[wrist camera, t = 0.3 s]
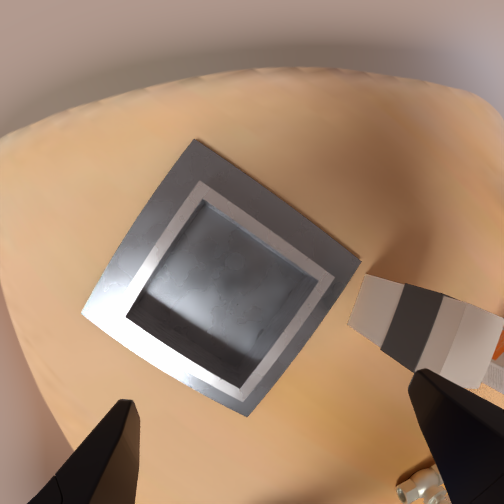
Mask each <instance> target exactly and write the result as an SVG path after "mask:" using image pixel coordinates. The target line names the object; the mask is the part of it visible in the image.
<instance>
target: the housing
mask: <svg viewBox="0 0 504 504" xmlns="http://www.w3.org/2000/svg"><path fill="white" fill-rule="evenodd" d="M361 262H362V261H360V260H359V259H358V258H357V257H355V256H354V255H353V254H352V253H350V252H349V251H348V250H347V249H345V248H344V247H343V246H342V245H340V244H339V243H338V242H337V241H335V240H334V239H333V238H331V237H330V236H329V235H328V234H326V233H325V232H324V231H322V230H321V229H320V228H318V227H317V226H316V225H315V224H313V223H312V222H311V221H309V220H308V219H307V218H305V217H304V216H303V215H301V214H300V213H299V212H297V211H296V210H295V209H293V208H292V207H291V206H289V205H288V204H287V203H285V202H284V201H283V200H281V199H280V198H278V197H277V196H276V195H274V194H273V193H272V192H270V191H269V190H267V189H266V188H265V187H263V186H262V185H260V184H259V183H258V182H256V181H255V180H253V179H252V178H251V177H249V176H248V175H246V174H245V173H244V172H242V171H241V170H239V169H238V168H236V167H235V166H234V165H232V164H231V163H229V162H228V161H226V160H225V159H223V158H222V157H220V156H219V155H217V154H216V153H215V152H213V151H212V150H210V149H209V148H207V147H206V146H204V145H203V144H201V143H200V142H198V141H197V140H195V139H194V140H193V141H192V142H191V143H190V145H189V146H188V147H187V149H186V150H185V151H184V152H183V154H182V155H181V156H180V158H179V159H178V160H177V162H176V163H175V164H174V166H173V167H172V169H171V170H170V171H169V173H168V174H167V175H166V177H165V178H164V180H163V181H162V182H161V184H160V185H159V187H158V188H157V189H156V191H155V192H154V194H153V195H152V197H151V198H150V200H149V201H148V203H147V204H146V205H145V207H144V208H143V210H142V211H141V213H140V214H139V216H138V217H137V219H136V221H135V222H134V224H133V225H132V227H131V228H130V230H129V231H128V233H127V235H126V236H125V238H124V239H123V241H122V242H121V244H120V246H119V247H118V249H117V251H116V252H115V254H114V256H113V257H112V259H111V261H110V262H109V264H108V266H107V267H106V269H105V271H104V272H103V274H102V276H101V278H100V279H99V281H98V283H97V285H96V286H95V288H94V290H93V292H92V294H91V296H90V297H89V299H88V301H87V303H86V305H85V307H84V309H83V310H82V312H81V314H82V315H83V316H85V317H86V318H87V319H89V320H90V321H91V322H93V323H94V324H95V325H97V326H98V327H99V328H101V329H102V330H103V331H105V332H106V333H107V334H109V335H110V336H111V337H113V338H114V339H116V340H117V341H118V342H120V343H121V344H123V345H124V346H126V347H127V348H129V349H130V350H131V351H133V352H134V353H136V354H137V355H139V356H140V357H142V358H143V359H145V360H147V361H148V362H150V363H151V364H153V365H154V366H156V367H157V368H159V369H161V370H162V371H164V372H166V373H167V374H169V375H170V376H172V377H174V378H175V379H177V380H179V381H180V382H182V383H184V384H186V385H187V386H189V387H191V388H193V389H194V390H196V391H198V392H200V393H201V394H203V395H205V396H207V397H209V398H211V399H212V400H214V401H216V402H218V403H220V404H222V405H224V406H226V407H228V408H230V409H232V410H234V411H236V412H238V413H240V414H242V415H244V416H246V417H248V416H249V415H250V413H251V412H252V411H253V410H254V409H255V407H256V406H257V405H258V404H259V403H260V401H261V400H262V399H263V398H264V397H265V395H266V394H267V393H268V392H269V390H270V389H271V388H272V387H273V385H274V384H275V383H276V382H277V380H278V379H279V378H280V377H281V375H282V374H283V373H284V372H285V370H286V369H287V368H288V366H289V365H290V364H291V362H292V361H293V360H294V359H295V357H296V356H297V355H298V353H299V352H300V351H301V349H302V348H303V347H304V345H305V344H306V342H307V341H308V340H309V338H310V337H311V336H312V334H313V333H314V331H315V330H316V329H317V327H318V326H319V324H320V323H321V322H322V320H323V319H324V317H325V316H326V315H327V313H328V312H329V310H330V309H331V307H332V306H333V304H334V303H335V301H336V300H337V298H338V297H339V296H340V294H341V293H342V291H343V290H344V288H345V287H346V285H347V283H348V282H349V280H350V279H351V277H352V276H353V274H354V273H355V271H356V270H357V268H358V266H359V265H360V263H361Z"/></svg>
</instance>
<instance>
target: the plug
mask: <svg viewBox="0 0 504 504" xmlns="http://www.w3.org/2000/svg"><path fill="white" fill-rule="evenodd" d="M347 325H349V326H350V327H351V328H353V329H354V330H356V331H357V332H359V333H360V334H362V335H363V336H365V337H366V338H367V339H369V340H370V341H372V342H373V343H375V344H376V345H378V346H379V347H380V348H381V349H380V350H382V351H383V352H384V353H386V354H387V355H389V356H390V357H392V358H393V359H394V360H396V361H397V362H399V363H400V364H402V365H403V366H404V367H406V368H407V369H409V370H410V371H412V372H414V373H415V372H416V371H417V370H420V369H424V368H427V369H429V370H431V371H433V372H435V373H437V374H439V375H440V376H442V377H444V378H446V379H448V380H450V381H451V382H453V383H455V384H457V385H459V386H461V387H463V388H471V389H478V388H479V386H480V384H481V382H482V380H483V377H484V375H485V373H486V371H487V368H488V366H489V364H490V361H491V359H492V356H493V354H494V351H495V349H496V346H497V343H498V341H499V338H500V335H501V332H502V329H503V326H504V318H502V317H499V316H497V315H495V314H492V313H490V312H488V311H485V310H483V309H481V308H478V307H476V306H474V305H471V304H469V303H466V302H463V301H460V300H457V299H455V298H452V297H450V296H447V295H445V294H442V293H439V292H435V291H432V290H428V289H424V288H421V287H417V286H414V285H410V284H406V283H405V285H404V284H401V283H397V282H393V281H390V280H386V279H383V278H379V277H376V276H372V275H369V274H365V276H364V279H363V282H362V285H361V288H360V291H359V294H358V296H357V299H356V302H355V305H354V307H353V310H352V313H351V315H350V318H349V321H348V323H347Z"/></svg>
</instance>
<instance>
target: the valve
mask: <svg viewBox="0 0 504 504" xmlns="http://www.w3.org/2000/svg"><path fill="white" fill-rule="evenodd" d="M441 484H443V480H442V478H441V475H440V473H439V470H438V468H437V466H436V464H434V465H433V466H431V467H430V468H428V469H422V470H420V471H418V472H416V473H415V474H413V475H412V476H411V478H410V479H409V480H407V481H405V482H403V483H401V484H399V485H398V486H396V492H397V495H398V498H399V499H400V501H401V502H402V503H403V504H409V503H411V502H413V501H415V500H417V499H418V498H424V503H425V504H451V503H450V502H449V501H448V500H444V499H445V495H446V492H447V491H446V490H445V489H444V488H443V487H442V486H440V485H441Z"/></svg>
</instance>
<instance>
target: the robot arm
mask: <svg viewBox="0 0 504 504" xmlns="http://www.w3.org/2000/svg"><path fill="white" fill-rule="evenodd" d="M408 393H409V396H410V399H411V402H412V405H413V408H414V411H415V414H416V417H417V420H418V423H419V426H420V428H421V431H422V433H423V435H424V438H425V440H426V442H427V445H428V447H429V449H430V451H431V454H432V456H433V458H434V461H435V463H436V466H437V468H438V470H439V473H440V475H441V478H442V480H443V483H444V485H445V488H446V490H447V493H448V495H449V498H450V501H451V503H452V504H504V409H503V410H502V408H500V407H498V406H496V405H494V404H493V403H491V402H489V401H487V400H485V399H483V398H481V397H479V396H477V395H476V394H474V393H472V392H470V391H468V390H466V389H464V388H463V387H461V386H459V385H457V384H455V383H453V382H451V381H450V380H448V379H446V378H444V377H442V376H440V375H439V374H437V373H435V372H433V371H431V370H429V369H427V368H424V369H420V370H417V371H416V372H415V373H414V375H413V378H412V380H411V382H410V384H409V387H408ZM139 448H140V417H139V414H138V412H137V409H136V406H135V403H134V402H133V400H128V399H120V400H118V401H117V403H116V404H115V405H114V406H113V407H112V408H111V409H110V411H109V412H108V413H107V414H106V415H105V416H104V418H103V419H102V420H101V421H100V422H99V423H98V425H97V426H96V427H95V428H94V429H93V430H92V432H91V433H90V434H89V435H88V436H87V437H86V439H85V440H84V441H83V442H82V443H81V444H80V446H79V447H78V448H77V449H76V450H75V451H74V453H73V454H72V455H71V456H70V457H69V459H68V460H67V461H66V462H65V463H64V464H63V465H62V467H61V468H60V469H59V470H58V471H57V472H56V474H55V475H56V476H53V477H52V478H51V479H50V480H49V482H48V483H47V484H46V485H45V486H44V487H43V488H42V489H41V490H40V492H39V493H38V494H37V495H36V496H35V497H33V498H32V499H31V500H30V501H29V502H28V503H27V504H135V497H136V488H137V480H138V472H139Z"/></svg>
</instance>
